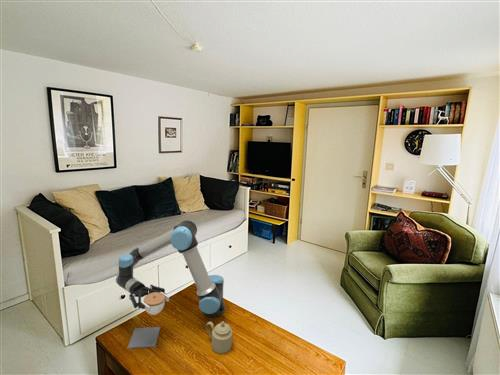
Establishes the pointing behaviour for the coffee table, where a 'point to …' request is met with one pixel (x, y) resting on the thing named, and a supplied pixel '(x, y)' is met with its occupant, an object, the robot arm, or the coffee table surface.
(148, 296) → the lidded jar
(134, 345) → the slate mat
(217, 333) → the beige teapot
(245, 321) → the coffee table surface
